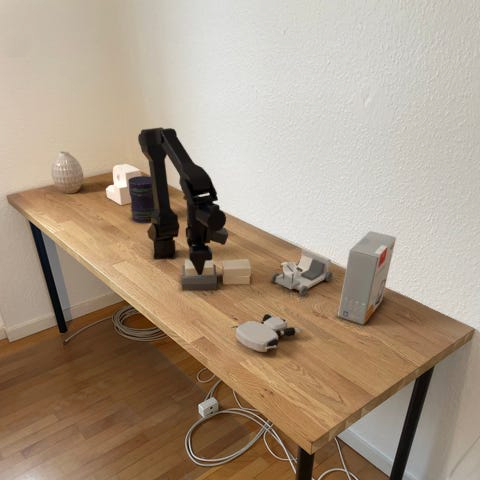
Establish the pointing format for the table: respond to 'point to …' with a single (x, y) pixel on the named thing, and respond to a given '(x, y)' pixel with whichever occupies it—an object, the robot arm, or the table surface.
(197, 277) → the grey books
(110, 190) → the tape dispenser
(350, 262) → the hard drive box
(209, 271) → the cream rectangular block
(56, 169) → the vase
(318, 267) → the toy car
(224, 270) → the beige block
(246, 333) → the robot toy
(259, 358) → the table surface
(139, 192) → the storage jar
